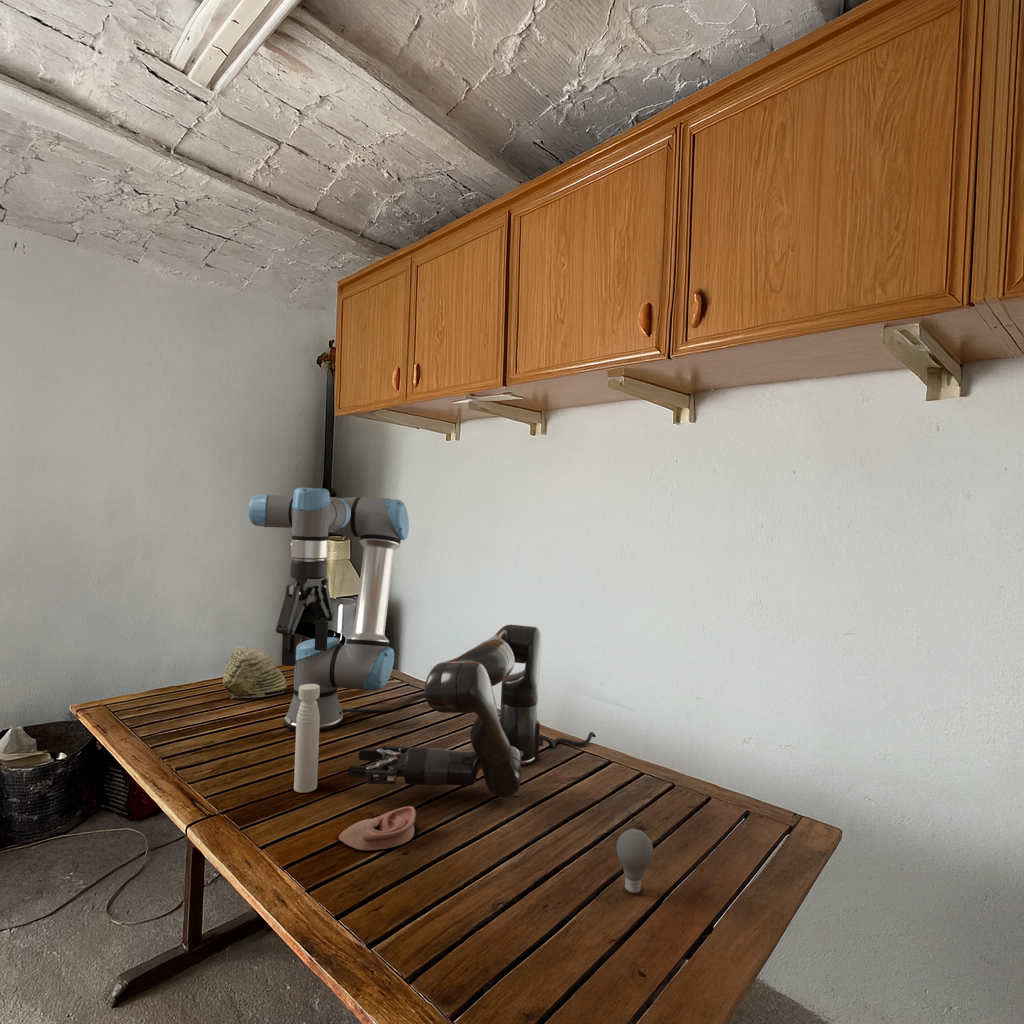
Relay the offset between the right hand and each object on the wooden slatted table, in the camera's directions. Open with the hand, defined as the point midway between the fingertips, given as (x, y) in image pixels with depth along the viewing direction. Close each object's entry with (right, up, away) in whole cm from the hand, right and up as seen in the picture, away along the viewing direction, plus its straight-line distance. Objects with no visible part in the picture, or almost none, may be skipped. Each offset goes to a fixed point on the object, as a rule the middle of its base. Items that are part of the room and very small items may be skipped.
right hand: (354, 762), depth 137 cm
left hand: (-10, +23, 0) cm, 25 cm away
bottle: (-11, -6, 0) cm, 12 cm away
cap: (-10, +16, 0) cm, 19 cm away
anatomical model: (+9, -7, -18) cm, 21 cm away
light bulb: (+54, -9, -32) cm, 63 cm away
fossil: (-46, -3, +61) cm, 77 cm away
